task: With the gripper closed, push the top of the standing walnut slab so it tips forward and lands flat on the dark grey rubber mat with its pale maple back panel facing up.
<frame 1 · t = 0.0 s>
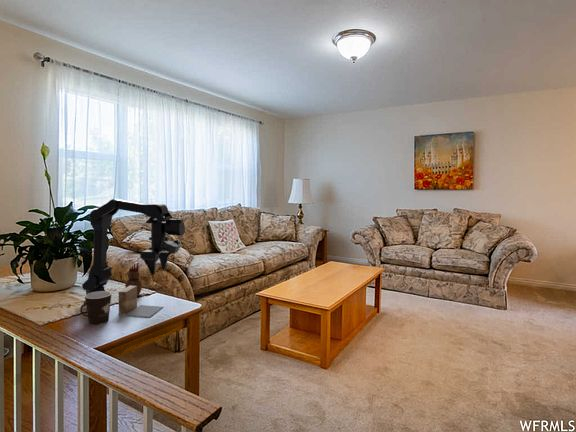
hand: (158, 271, 144), 15 cm above the table, fingers open, 9 cm apart
walnut slab: (128, 310, 139), on the table
rubber mat: (144, 311, 138), on the table
wooden figurine: (133, 295, 158), on the table
coffee mug: (94, 322, 127), on the table
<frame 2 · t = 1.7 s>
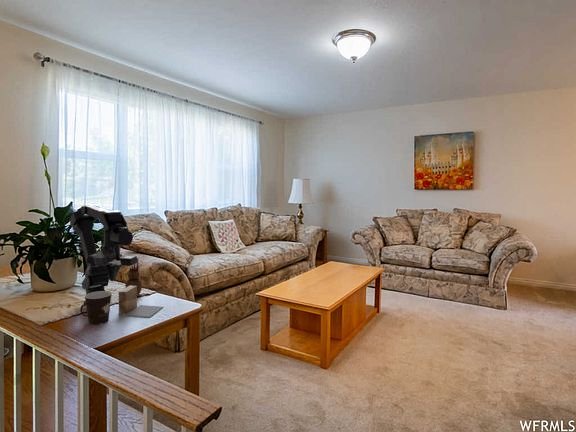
hand: (112, 280, 139), 12 cm above the table, fingers closed
nothing on the table moved.
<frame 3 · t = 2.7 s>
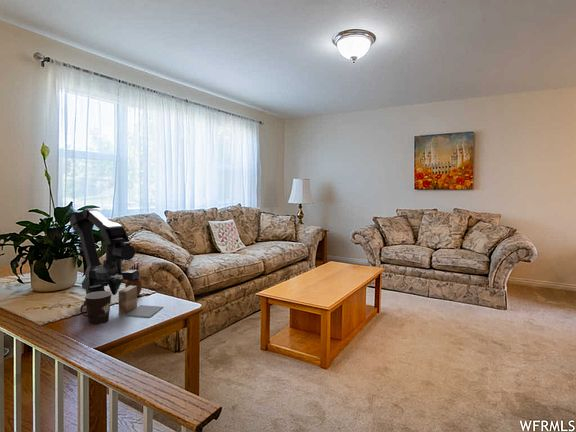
hand: (114, 294, 139), 6 cm above the table, fingers closed
nothing on the table moved.
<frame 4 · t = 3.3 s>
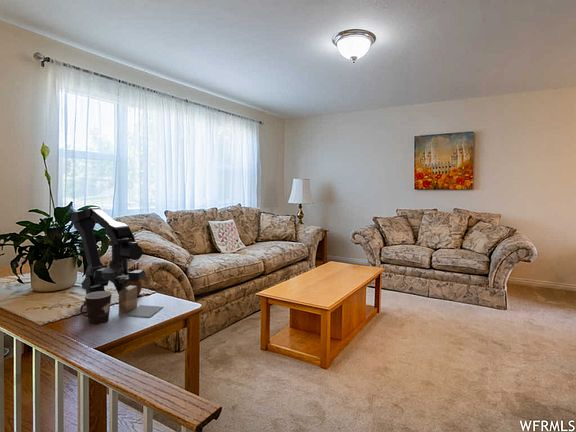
hand: (120, 295, 139), 6 cm above the table, fingers closed
walnut slab: (128, 310, 139), on the table, touching gripper
everything else where it was.
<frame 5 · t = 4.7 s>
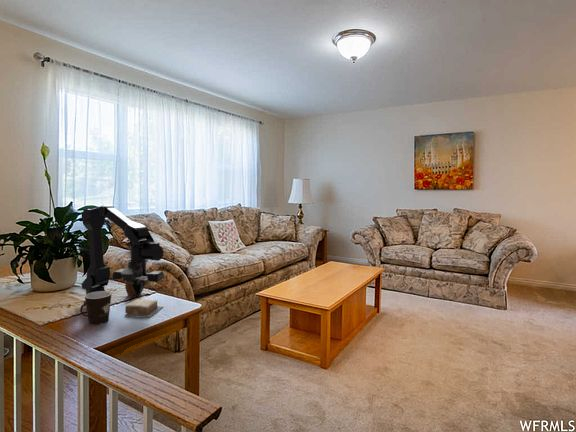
hand: (138, 296, 138), 6 cm above the table, fingers closed
walnut slab: (131, 306, 139), point 2 cm above the table, tilted 90°, touching rubber mat
everything else where it was.
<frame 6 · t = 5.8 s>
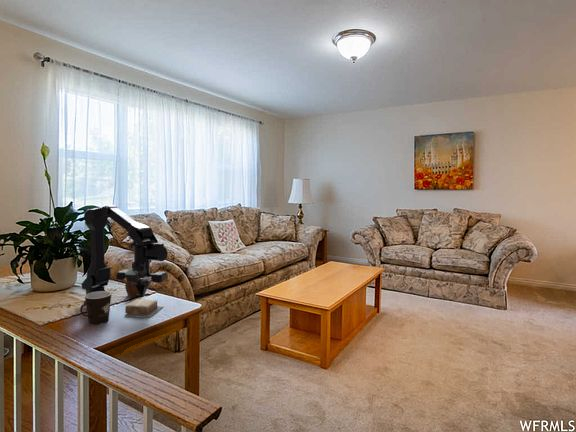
hand: (142, 296, 138), 6 cm above the table, fingers closed
nothing on the table moved.
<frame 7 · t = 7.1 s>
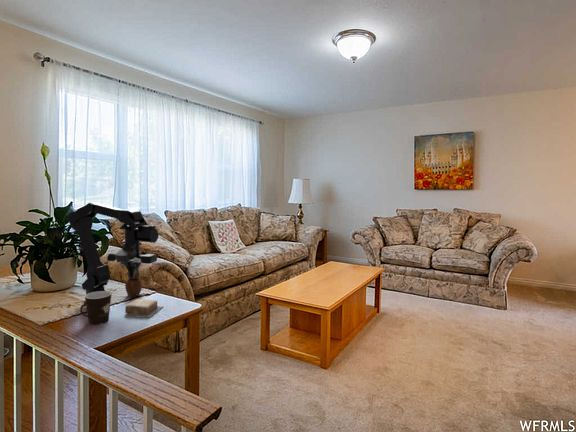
hand: (132, 278, 143), 12 cm above the table, fingers closed
nothing on the table moved.
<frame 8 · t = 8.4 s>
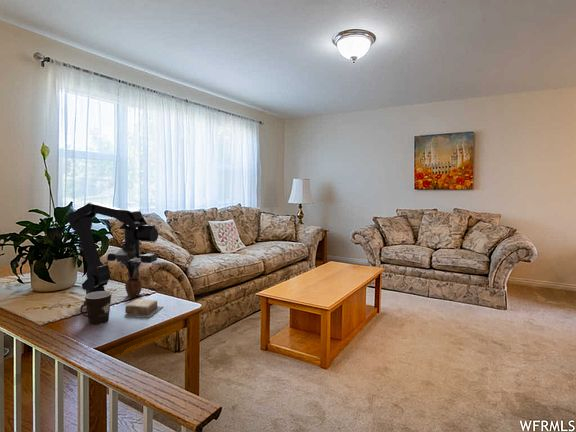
hand: (132, 277, 143), 12 cm above the table, fingers closed
nothing on the table moved.
at the end: walnut slab tilted 90°; walnut slab inside the target area (3.7 cm from its centre), point 1.9 cm above the table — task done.
